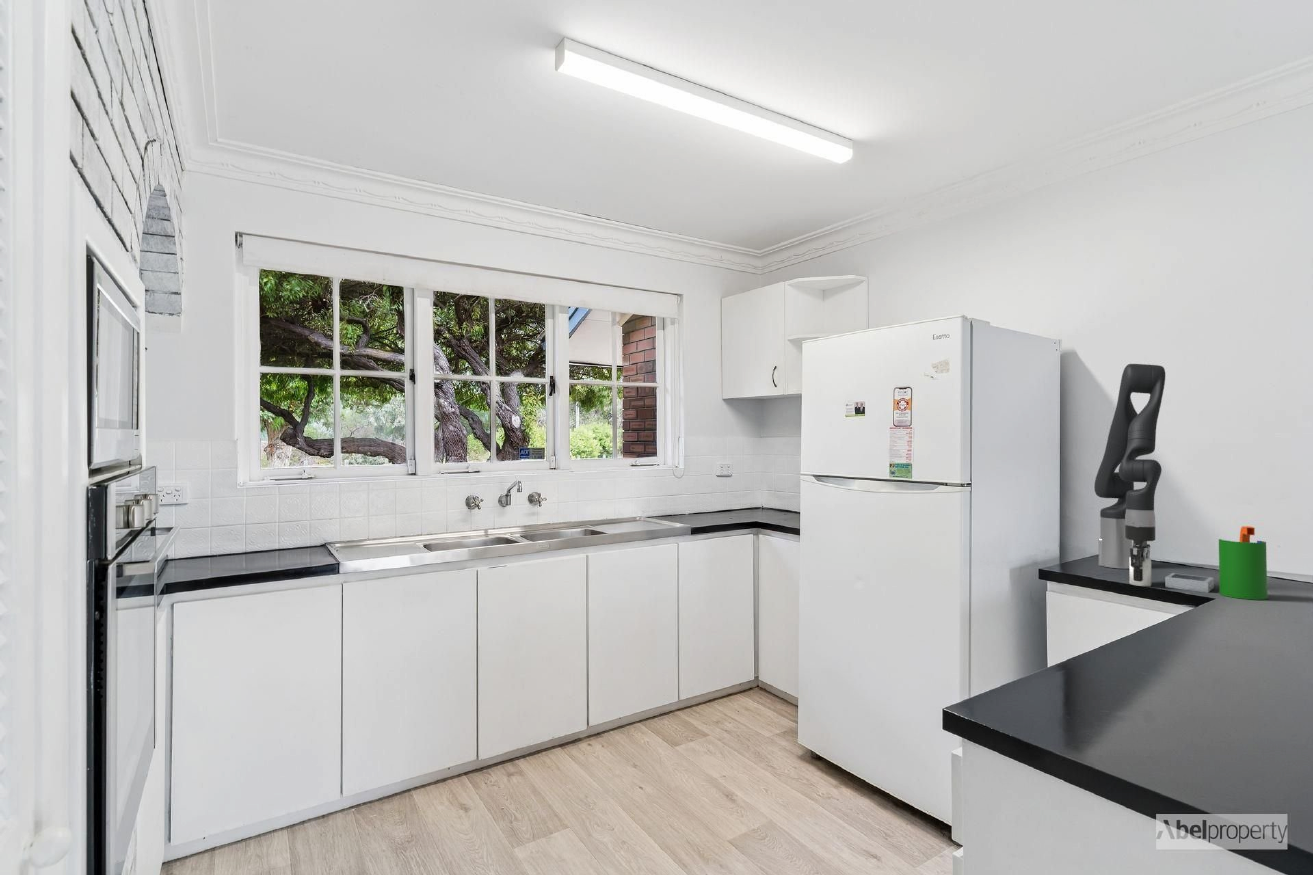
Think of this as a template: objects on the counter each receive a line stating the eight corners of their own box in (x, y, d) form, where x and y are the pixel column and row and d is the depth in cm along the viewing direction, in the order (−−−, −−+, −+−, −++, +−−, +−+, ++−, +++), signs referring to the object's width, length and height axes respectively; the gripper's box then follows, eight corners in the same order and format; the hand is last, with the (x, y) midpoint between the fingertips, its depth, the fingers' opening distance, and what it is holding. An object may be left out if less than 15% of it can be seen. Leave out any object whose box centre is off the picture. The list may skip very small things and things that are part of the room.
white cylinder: (1127, 584, 205) (1127, 554, 205) (1131, 581, 208) (1131, 552, 209) (1149, 587, 201) (1148, 557, 201) (1153, 584, 205) (1152, 555, 205)
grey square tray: (1165, 587, 201) (1165, 577, 201) (1172, 582, 208) (1171, 572, 208) (1208, 592, 194) (1208, 582, 194) (1213, 587, 200) (1213, 577, 201)
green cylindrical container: (1251, 593, 193) (1251, 524, 193) (1277, 600, 184) (1276, 527, 184) (1213, 592, 194) (1213, 523, 194) (1237, 599, 185) (1236, 527, 185)
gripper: (1131, 521, 213) (1131, 574, 212) (1119, 525, 203) (1119, 580, 202) (1160, 523, 207) (1160, 578, 207) (1149, 527, 197) (1150, 584, 197)
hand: (1140, 579), depth 205 cm, fingers closed on white cylinder, 5 cm apart
